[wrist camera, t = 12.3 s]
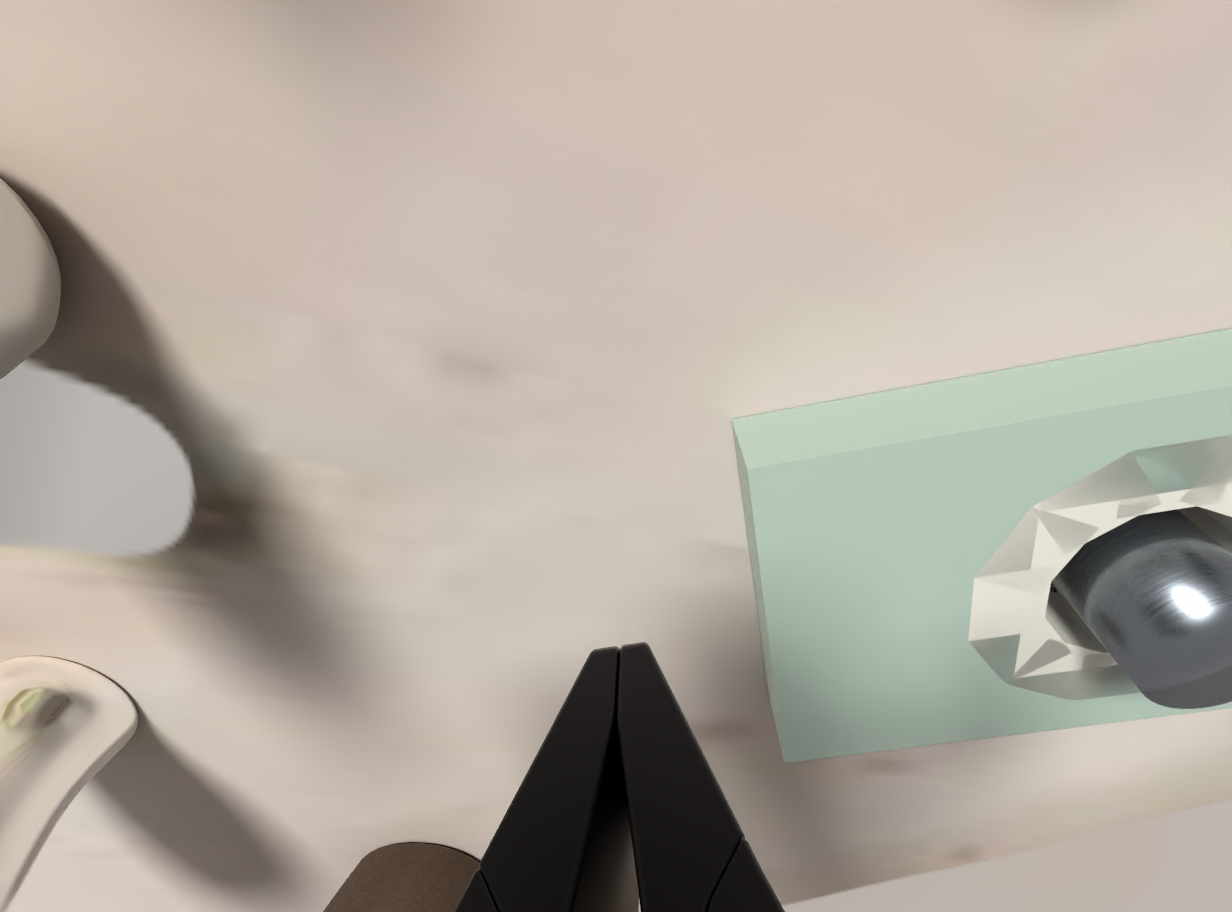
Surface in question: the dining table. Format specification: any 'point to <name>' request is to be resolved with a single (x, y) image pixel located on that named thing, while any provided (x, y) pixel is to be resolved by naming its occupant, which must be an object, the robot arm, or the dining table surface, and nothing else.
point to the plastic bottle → (24, 282)
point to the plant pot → (406, 880)
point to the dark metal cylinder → (1159, 606)
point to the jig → (969, 541)
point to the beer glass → (50, 752)
